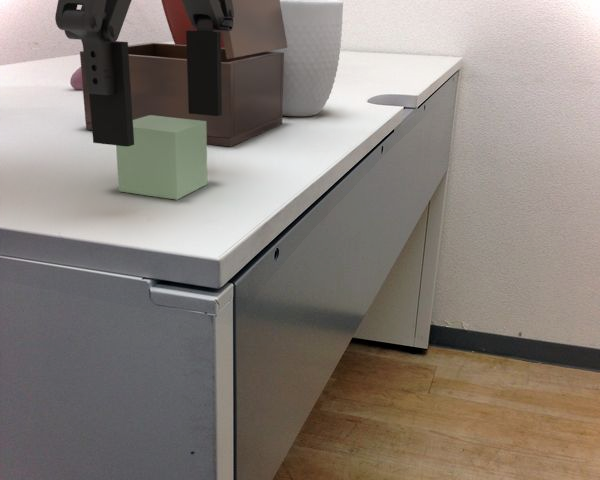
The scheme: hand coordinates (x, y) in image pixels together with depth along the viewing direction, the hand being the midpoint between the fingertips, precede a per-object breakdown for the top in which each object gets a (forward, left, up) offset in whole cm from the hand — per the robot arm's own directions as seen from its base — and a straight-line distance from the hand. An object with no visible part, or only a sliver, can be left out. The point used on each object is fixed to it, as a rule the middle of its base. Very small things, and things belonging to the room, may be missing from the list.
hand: (164, 128), depth 54 cm
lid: (-4, +23, +12) cm, 26 cm away
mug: (-4, +39, -5) cm, 40 cm away
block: (0, 0, -5) cm, 5 cm away
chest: (-10, +23, -5) cm, 26 cm away
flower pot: (-29, +75, -5) cm, 81 cm away
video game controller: (-31, +38, -5) cm, 50 cm away
